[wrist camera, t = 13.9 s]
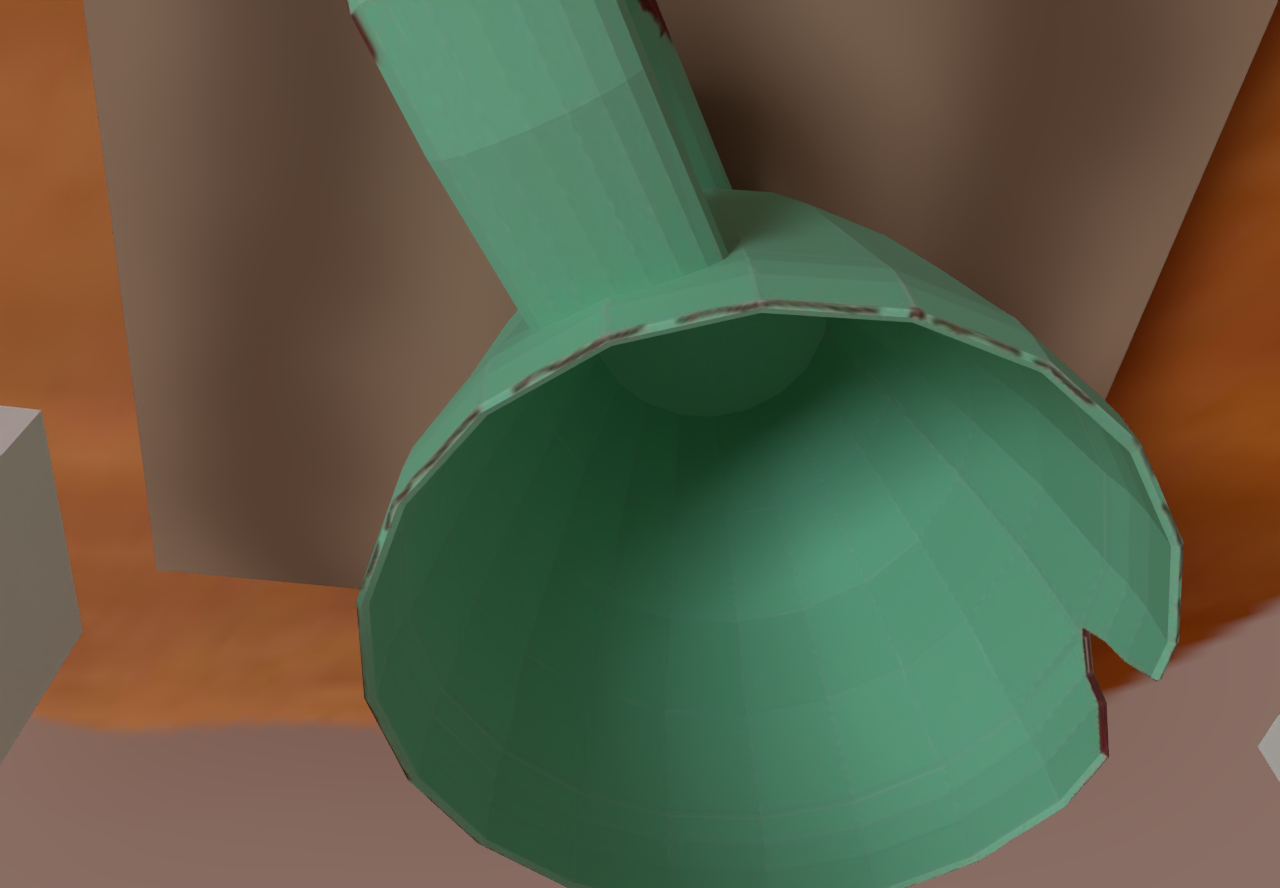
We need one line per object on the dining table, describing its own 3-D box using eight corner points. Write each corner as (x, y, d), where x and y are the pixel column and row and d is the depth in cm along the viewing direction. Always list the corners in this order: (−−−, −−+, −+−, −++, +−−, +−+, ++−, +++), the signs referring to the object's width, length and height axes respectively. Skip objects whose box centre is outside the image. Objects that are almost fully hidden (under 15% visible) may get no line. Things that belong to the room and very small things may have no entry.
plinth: (1287, -336, 19) (1430, -353, 16) (954, 546, 30) (997, 648, 27) (121, -553, 17) (2, -623, 14) (211, 470, 28) (156, 569, 25)
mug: (1006, 419, 23) (1232, 810, 15) (582, 563, 25) (566, 982, 16) (791, -384, 15) (997, -533, 7) (209, -91, 17) (-171, 64, 9)
